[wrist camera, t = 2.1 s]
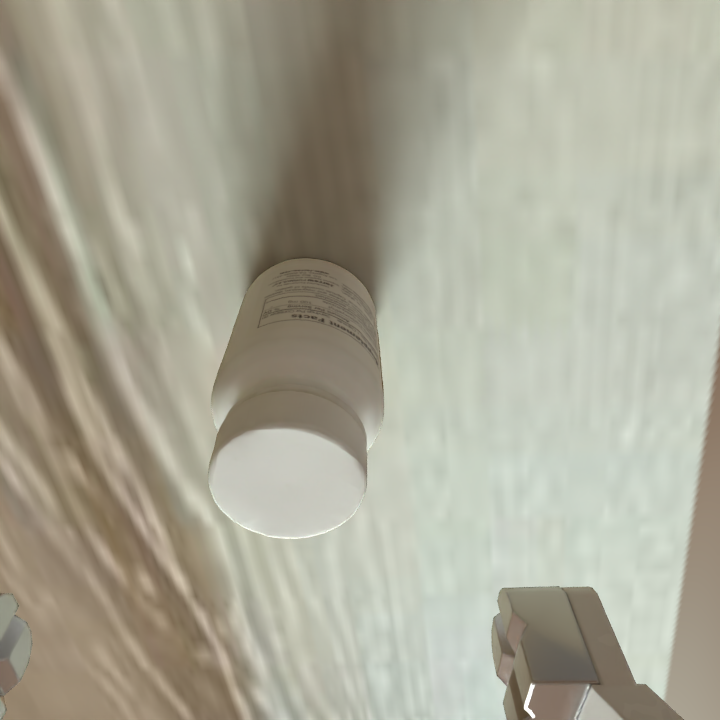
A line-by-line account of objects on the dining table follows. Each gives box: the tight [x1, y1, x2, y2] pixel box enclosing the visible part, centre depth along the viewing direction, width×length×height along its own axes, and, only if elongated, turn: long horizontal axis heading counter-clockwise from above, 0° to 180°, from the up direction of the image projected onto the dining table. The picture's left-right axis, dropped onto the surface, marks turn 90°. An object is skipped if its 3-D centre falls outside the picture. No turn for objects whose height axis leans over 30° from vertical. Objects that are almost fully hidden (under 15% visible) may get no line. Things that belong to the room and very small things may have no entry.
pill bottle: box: [208, 258, 384, 539], centre depth 16 cm, size 4×4×8 cm
